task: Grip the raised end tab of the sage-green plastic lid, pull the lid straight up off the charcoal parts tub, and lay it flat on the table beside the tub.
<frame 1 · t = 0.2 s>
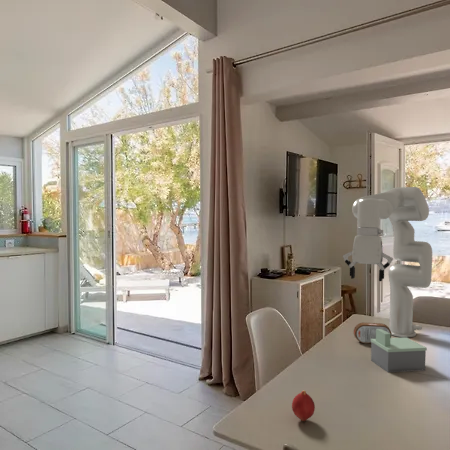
hand: (366, 279, 142), 30 cm above the table, tool pointing down, fingers open, 9 cm apart
tin: (372, 343, 164), on the table
onion: (302, 421, 101), on the table
lid: (397, 349, 140), point 6 cm above the table, touching tub
tub: (397, 365, 140), on the table
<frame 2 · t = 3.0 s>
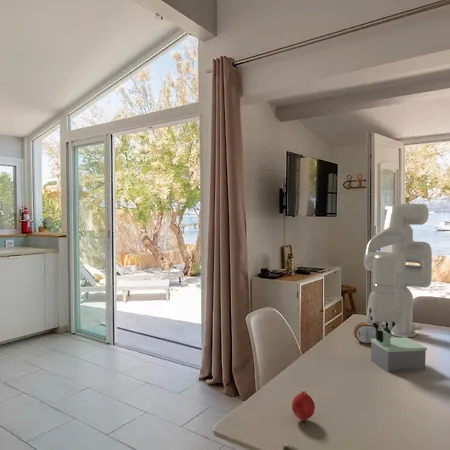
hand: (382, 340, 139), 9 cm above the table, tool pointing down, fingers closed on lid
lid: (397, 349, 140), point 6 cm above the table, touching gripper
everything else where it was.
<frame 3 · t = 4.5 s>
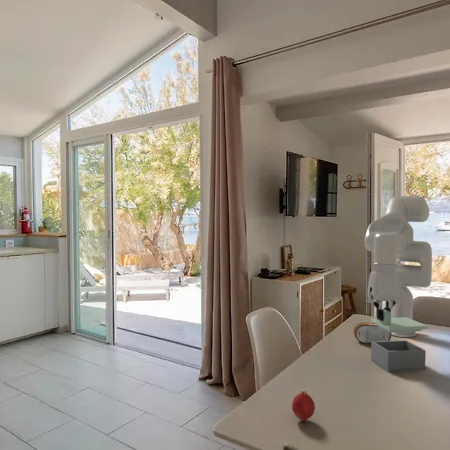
hand: (383, 319, 139), 17 cm above the table, tool pointing down, fingers closed on lid
lid: (398, 328, 140), point 13 cm above the table, touching gripper
everything else where it was.
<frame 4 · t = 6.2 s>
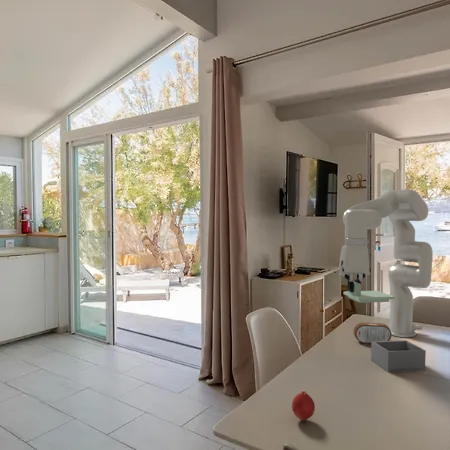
hand: (354, 291, 146), 25 cm above the table, tool pointing down, fingers closed on lid
lid: (368, 299, 148), point 22 cm above the table, touching gripper
everything else where it was.
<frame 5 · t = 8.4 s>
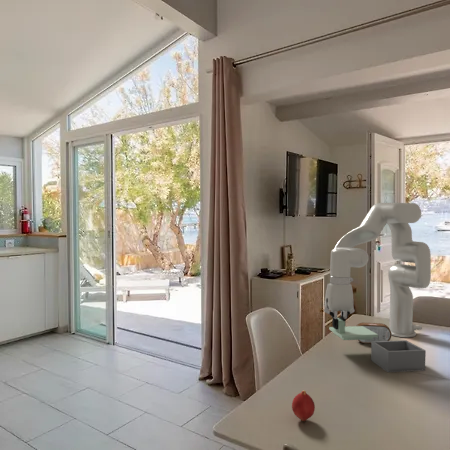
hand: (338, 328, 151), 10 cm above the table, tool pointing down, fingers closed on lid
lid: (352, 336, 152), point 7 cm above the table, touching gripper
everything else where it was.
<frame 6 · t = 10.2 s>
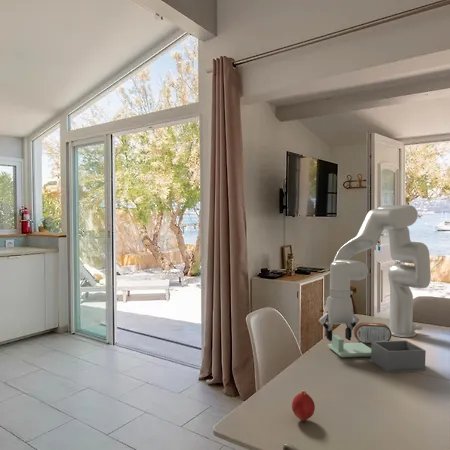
hand: (338, 339, 151), 5 cm above the table, tool pointing down, fingers open, 7 cm apart
lid: (351, 353, 152), on the table
everything else where it was.
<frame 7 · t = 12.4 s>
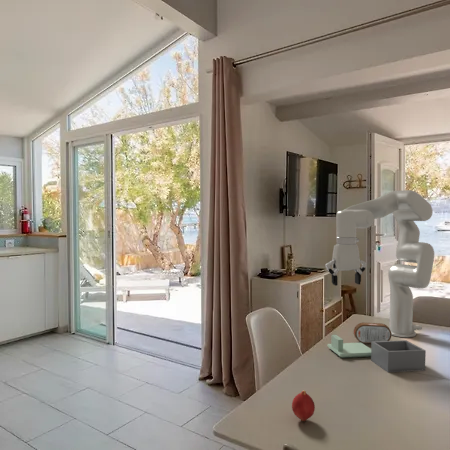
hand: (346, 284, 156), 26 cm above the table, tool pointing down, fingers open, 9 cm apart
nothing on the table moved.
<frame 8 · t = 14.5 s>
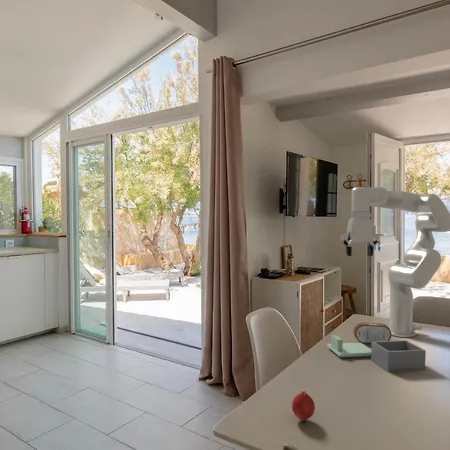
hand: (359, 255, 168), 36 cm above the table, tool pointing down, fingers open, 9 cm apart
nothing on the table moved.
at the end: lid inside the target area (0.8 cm from its centre), on the table; lid tilted 0°; the gripper is holding nothing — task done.
